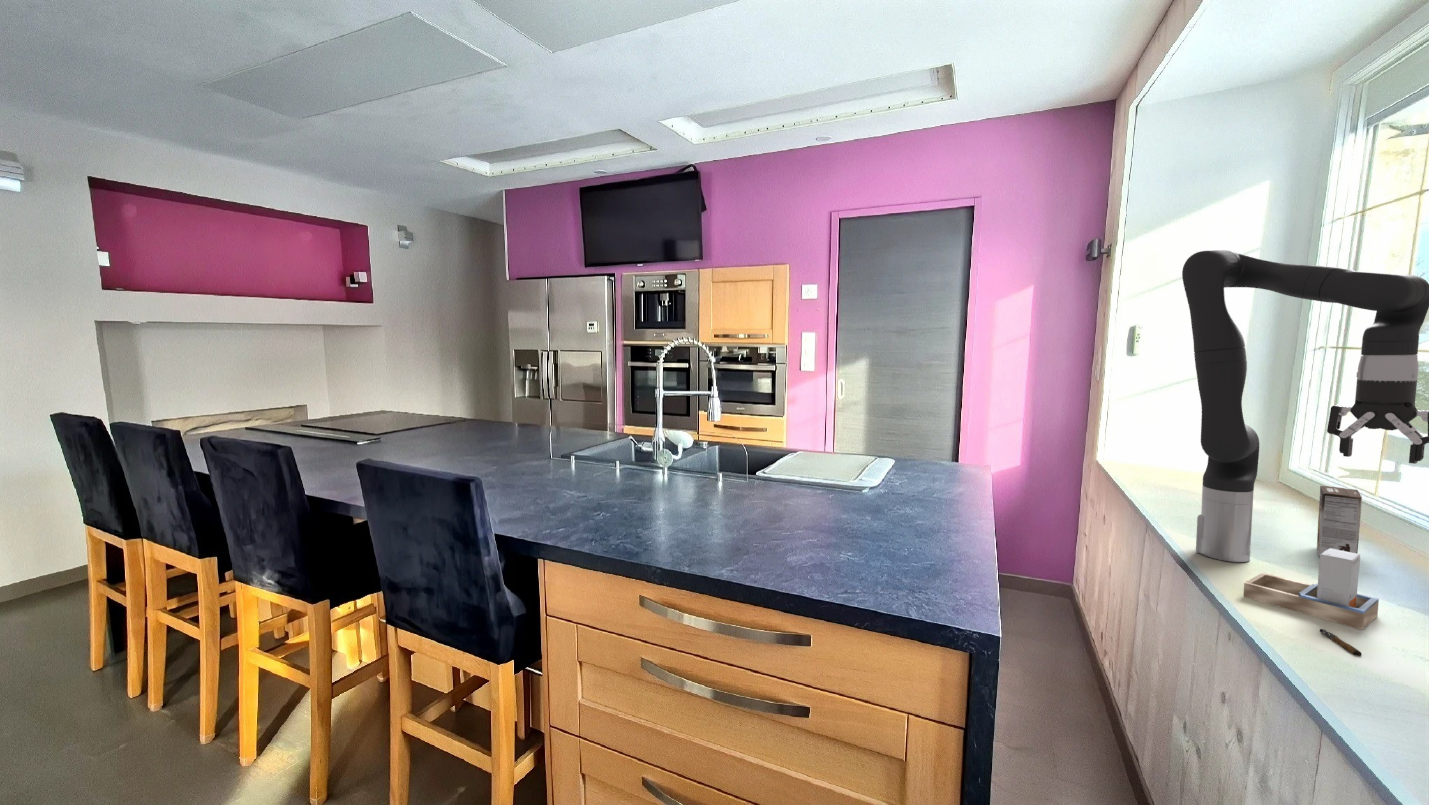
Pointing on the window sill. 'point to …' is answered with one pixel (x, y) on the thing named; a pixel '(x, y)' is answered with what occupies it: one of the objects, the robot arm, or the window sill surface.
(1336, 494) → the coffee box
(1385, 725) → the window sill surface
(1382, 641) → the window sill surface
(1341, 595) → the skincare box
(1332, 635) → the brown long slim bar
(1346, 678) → the window sill surface
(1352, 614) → the organiser
